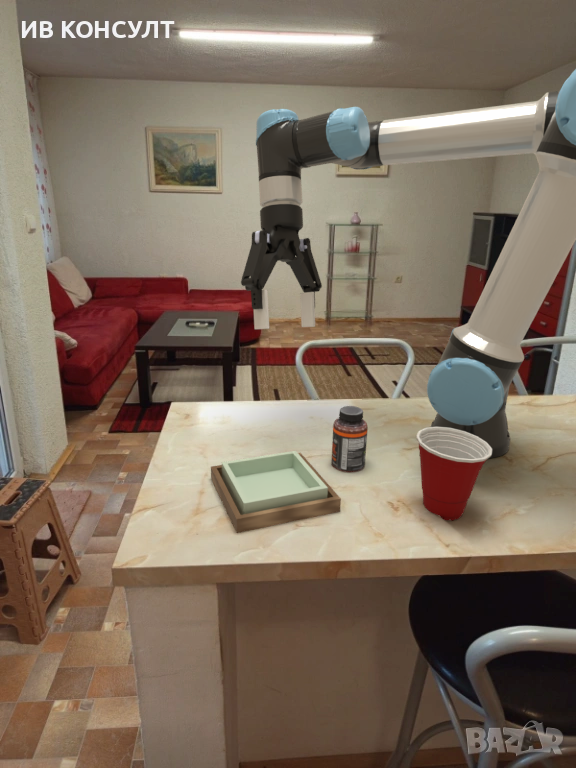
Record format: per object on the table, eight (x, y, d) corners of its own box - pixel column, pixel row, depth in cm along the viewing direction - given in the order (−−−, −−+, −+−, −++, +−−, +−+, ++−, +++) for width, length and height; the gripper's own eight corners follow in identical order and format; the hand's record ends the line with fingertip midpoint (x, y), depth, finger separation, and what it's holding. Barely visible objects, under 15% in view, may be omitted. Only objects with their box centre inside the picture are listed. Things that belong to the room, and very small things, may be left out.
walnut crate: (299, 467, 91) (300, 452, 90) (339, 516, 77) (340, 498, 76) (211, 482, 86) (210, 466, 85) (236, 537, 72) (236, 519, 71)
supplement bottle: (328, 460, 94) (331, 403, 90) (360, 460, 94) (364, 402, 91) (334, 477, 88) (337, 416, 84) (368, 476, 89) (372, 415, 85)
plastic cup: (487, 536, 73) (499, 460, 69) (409, 525, 75) (417, 452, 71) (476, 496, 83) (487, 428, 79) (408, 488, 85) (415, 422, 81)
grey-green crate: (295, 468, 89) (295, 450, 88) (326, 508, 78) (327, 487, 76) (222, 481, 85) (221, 462, 83) (244, 524, 73) (244, 503, 72)
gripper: (305, 220, 103) (309, 326, 105) (214, 199, 83) (222, 330, 85) (337, 213, 98) (341, 325, 100) (249, 190, 78) (256, 329, 81)
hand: (286, 328), depth 93 cm, fingers open, 13 cm apart
